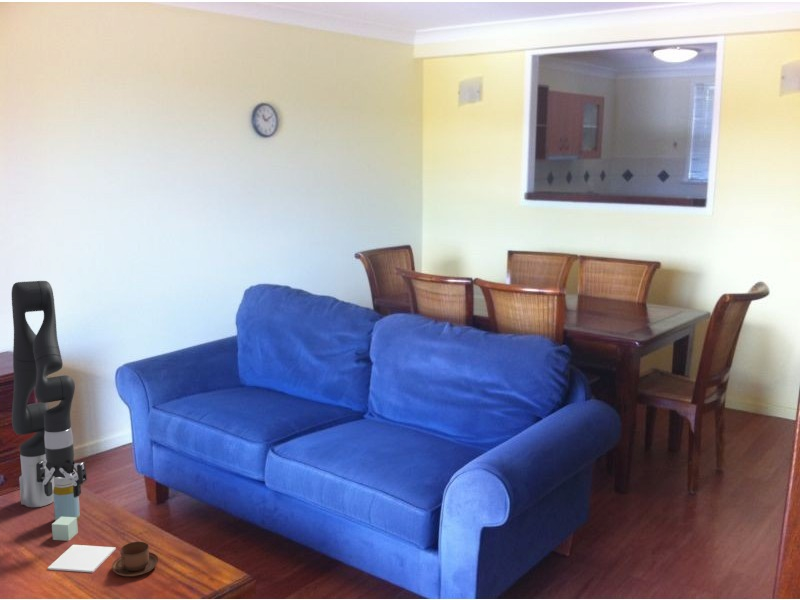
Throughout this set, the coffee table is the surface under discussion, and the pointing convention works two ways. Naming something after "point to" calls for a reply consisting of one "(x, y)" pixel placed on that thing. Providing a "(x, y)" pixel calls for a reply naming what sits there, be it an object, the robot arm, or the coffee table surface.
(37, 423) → the robot arm
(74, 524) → the sage cube
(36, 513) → the coffee table surface
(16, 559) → the coffee table surface
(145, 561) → the cup and saucer
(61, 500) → the bottle
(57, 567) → the mat
